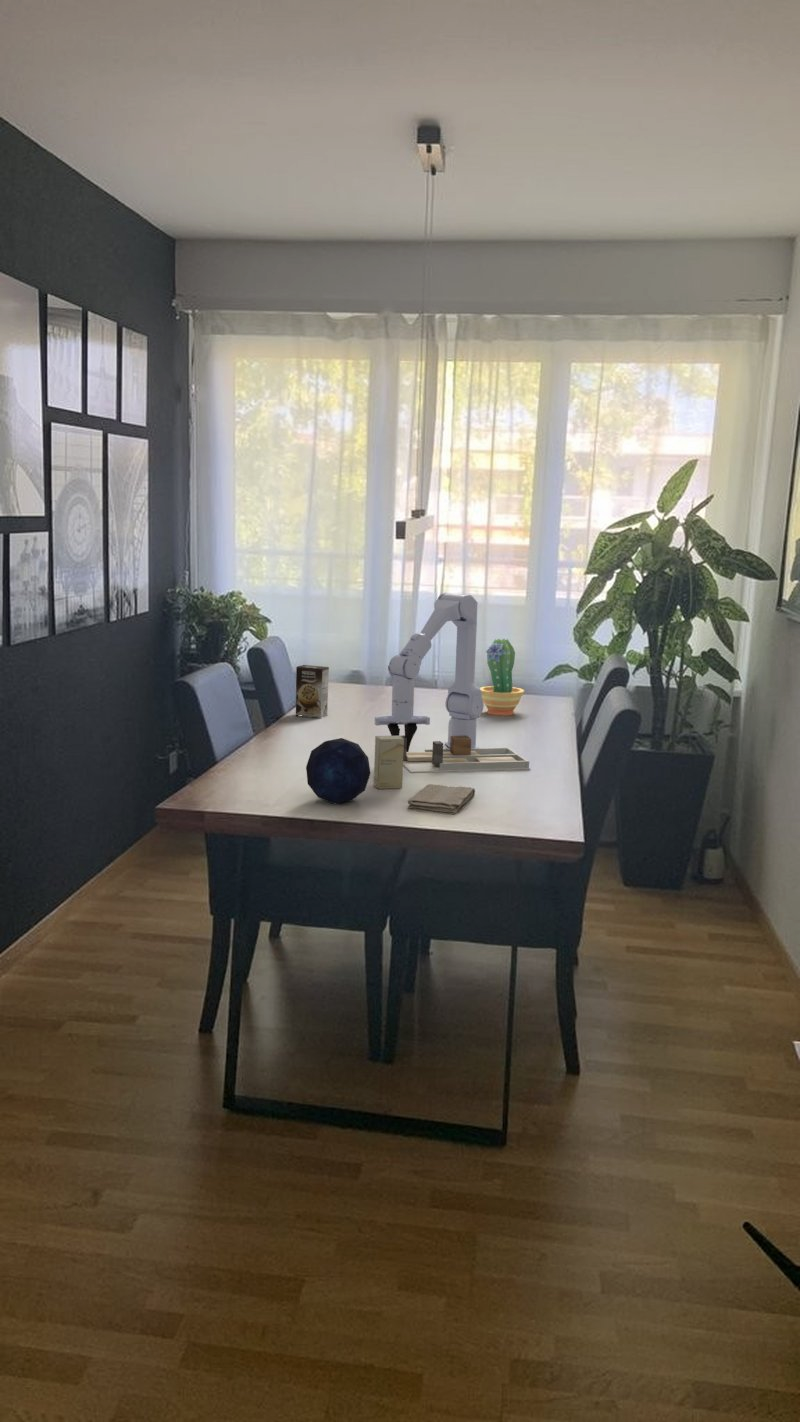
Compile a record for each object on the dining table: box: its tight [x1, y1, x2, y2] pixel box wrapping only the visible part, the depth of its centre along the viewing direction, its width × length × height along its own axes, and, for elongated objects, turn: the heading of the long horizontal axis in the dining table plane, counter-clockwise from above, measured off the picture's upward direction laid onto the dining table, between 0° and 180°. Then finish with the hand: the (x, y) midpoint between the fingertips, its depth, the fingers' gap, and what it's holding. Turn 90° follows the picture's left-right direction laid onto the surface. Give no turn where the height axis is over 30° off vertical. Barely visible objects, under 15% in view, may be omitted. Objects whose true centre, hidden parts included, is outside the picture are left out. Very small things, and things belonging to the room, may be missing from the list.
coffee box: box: [295, 664, 330, 719], centre depth 334 cm, size 9×6×16 cm
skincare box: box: [373, 735, 404, 790], centre depth 247 cm, size 6×4×12 cm
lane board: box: [403, 746, 531, 774], centre depth 275 cm, size 18×32×2 cm, turn 102°
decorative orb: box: [305, 737, 371, 804], centre depth 234 cm, size 14×15×15 cm
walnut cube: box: [449, 735, 471, 755], centre depth 278 cm, size 4×4×4 cm
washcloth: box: [407, 783, 476, 815], centre depth 236 cm, size 12×18×3 cm, turn 164°
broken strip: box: [432, 740, 517, 766], centre depth 271 cm, size 6×22×6 cm, turn 102°
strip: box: [400, 734, 480, 761], centre depth 277 cm, size 6×22×6 cm, turn 102°
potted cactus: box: [479, 638, 525, 716], centre depth 347 cm, size 15×15×25 cm
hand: (401, 751), depth 275 cm, fingers closed on strip, 2 cm apart
